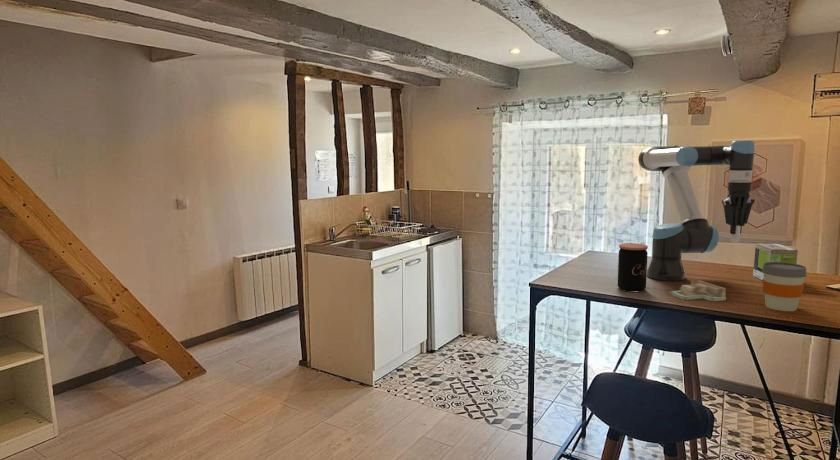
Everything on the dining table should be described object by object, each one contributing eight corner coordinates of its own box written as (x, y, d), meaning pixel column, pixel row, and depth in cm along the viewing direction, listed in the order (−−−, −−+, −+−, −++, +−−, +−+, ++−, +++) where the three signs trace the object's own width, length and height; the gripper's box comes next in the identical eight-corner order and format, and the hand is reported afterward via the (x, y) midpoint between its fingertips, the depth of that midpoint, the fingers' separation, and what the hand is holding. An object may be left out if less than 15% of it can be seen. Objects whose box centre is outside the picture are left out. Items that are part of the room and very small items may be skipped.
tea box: (795, 285, 207) (798, 249, 204) (768, 284, 209) (770, 249, 206) (777, 276, 221) (780, 243, 219) (752, 275, 223) (754, 242, 221)
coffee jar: (633, 294, 199) (635, 248, 196) (611, 288, 208) (613, 244, 206) (651, 290, 204) (653, 246, 201) (629, 284, 213) (631, 242, 210)
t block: (699, 290, 203) (699, 280, 202) (725, 298, 190) (725, 288, 190) (672, 292, 200) (673, 282, 200) (697, 301, 188) (698, 290, 187)
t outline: (692, 288, 205) (692, 285, 204) (725, 300, 188) (726, 297, 188) (661, 291, 202) (661, 288, 201) (693, 303, 185) (693, 300, 185)
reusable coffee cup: (764, 311, 175) (768, 268, 173) (755, 301, 186) (758, 260, 184) (808, 314, 170) (812, 270, 168) (796, 303, 182) (800, 262, 180)
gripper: (733, 182, 189) (728, 244, 193) (762, 181, 192) (757, 242, 195) (717, 181, 196) (713, 241, 200) (746, 180, 199) (741, 239, 203)
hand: (734, 242), depth 198 cm, fingers closed
